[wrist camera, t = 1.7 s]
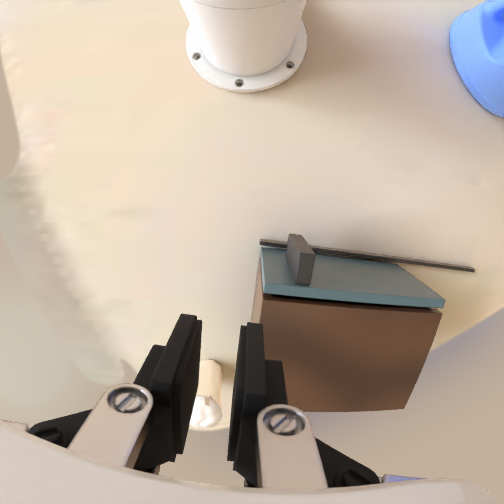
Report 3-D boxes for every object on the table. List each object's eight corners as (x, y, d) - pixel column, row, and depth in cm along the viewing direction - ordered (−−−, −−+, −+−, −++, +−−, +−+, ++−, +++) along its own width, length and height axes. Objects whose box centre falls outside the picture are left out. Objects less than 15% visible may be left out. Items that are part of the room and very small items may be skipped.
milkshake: (235, 357, 37) (230, 412, 27) (219, 387, 38) (212, 443, 29) (199, 344, 37) (184, 397, 27) (186, 375, 38) (170, 429, 28)
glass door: (264, 224, 32) (269, 250, 22) (401, 243, 33) (453, 272, 22) (260, 254, 33) (263, 293, 23) (395, 270, 34) (443, 308, 23)
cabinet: (259, 239, 33) (263, 274, 22) (470, 267, 34) (527, 298, 23) (246, 342, 37) (243, 408, 25) (443, 350, 37) (485, 397, 26)
